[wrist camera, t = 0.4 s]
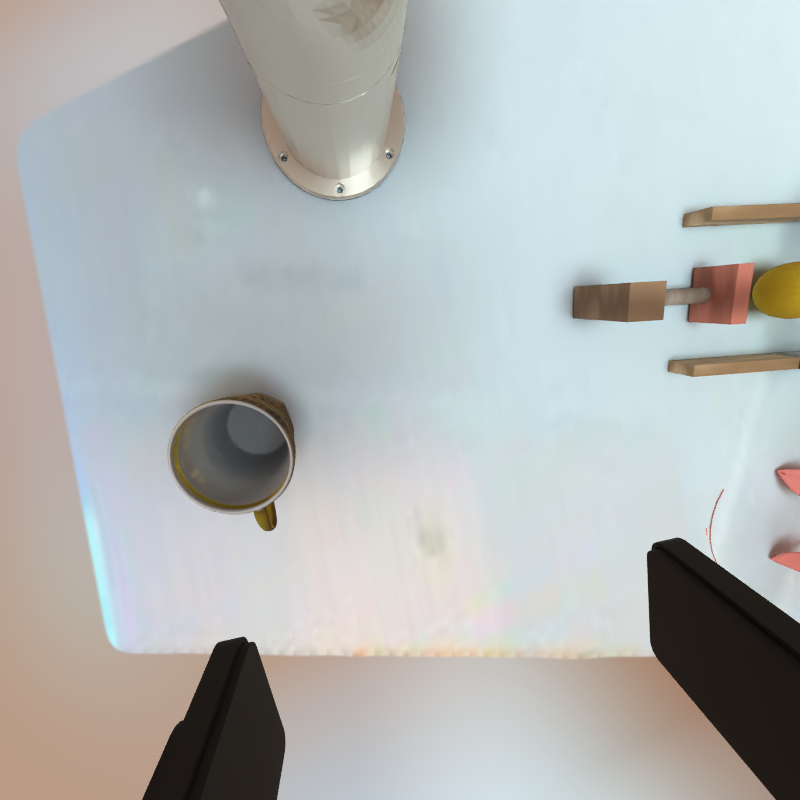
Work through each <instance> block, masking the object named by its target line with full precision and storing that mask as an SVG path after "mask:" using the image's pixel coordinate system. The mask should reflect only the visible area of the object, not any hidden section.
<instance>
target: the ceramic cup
mask: <svg viewBox="0 0 800 800" xmlns="http://www.w3.org/2000/svg"><path fill="white" fill-rule="evenodd" d="M168 463H169V468H170V471H171V474H172V476H173V478H174V480H175V482H176V484H177V485H178V486H179V488H180V489H181V490H182V491H183V492H184V494H185V495H186V496H188V497H189V498H190V499H191V500H192V501H194V502H195V503H197V504H198V505H200V506H202V507H204V508H206V509H209V510H211V511H214V512H219V513H224V514H244V513H250V512H254V515H255V518H256V521H257V522H258V524H259V526H260V527H261V528H262V529H263V530H265V531H271V530H273V529H275V527H276V524H277V517H276V510H275V505H274V501H275V500H276V499H277V498H278V497H279V496H280V495H281V494H282V493H283V492H284V490H285V489H286V488H287V486H288V484H289V482H290V480H291V477H292V474H293V470H294V465H295V442H294V429H293V424H292V422H291V419H290V417H289V414H288V412H287V409H286V407H285V404H284V403H282V402H280V401H278V400H275V399H273V398H271V397H269V396H267V395H265V394H262V393H255V394H251V395H246V396H233V397H227V398H222V399H218V400H214V401H211V402H207V403H204V404H202V405H199V406H197V407H196V408H194V409H192V410H191V411H189V412H188V413H187V414H186V415H185V416H184V417H183V418H182V419H181V420H180V421H179V422H178V424H177V425H176V427H175V428H174V430H173V432H172V434H171V437H170V440H169V445H168ZM267 506H268V507H267Z"/></svg>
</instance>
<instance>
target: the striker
mask: <svg viewBox="0 0 800 800" xmlns="http://www.w3.org/2000/svg"><path fill="white" fill-rule="evenodd" d="M753 270H754V263H745V264H732V265H722V266H712V267H703V268H695V269H694V278H693V287H692V288H684V289H667V290H666V284H667V281H654V282H636V283H621V284H607V285H593V286H579V287H575V293H574V316H573V318H579V319H593V320H606V321H620V322H636V321H652V320H663V316H664V306H666V305H682V304H691V305H690V314H689V322H699V323H716V324H744V323H746V319H747V312H748V305H749V298H750V291H751V284H752V277H753Z"/></svg>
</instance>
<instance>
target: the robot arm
mask: <svg viewBox="0 0 800 800" xmlns="http://www.w3.org/2000/svg"><path fill="white" fill-rule="evenodd" d="M219 1H220V3H221V5H222V7H223V9H224V11H225V13H226V15H227V17H228V19H229V21H230V24H231V26H232V28H233V30H234V32H235V34H236V37H237V39H238V41H239V43H240V45H241V47H242V49H243V52H244V54H245V56H246V59H247V61H248V63H249V65H250V67H251V69H252V71H253V74H254V76H255V78H256V80H257V82H258V84H259V86H260V89H261V91H262V93H263V96H262V103H261V122H262V127H263V132H264V137H265V140H266V142H267V145H268V147H269V150H270V152H271V154H272V156H273V158H274V160H275V161H276V163H277V164H278V166H279V167H280V168H281V170H282V171H283V173H284V174H285V175H286V176H287V177H288V178H289V179H290V180H291V181H292V182H293V183H294V184H296V185H297V186H299V187H300V188H301V189H303V190H304V191H306V192H308V193H310V194H313V195H315V196H317V197H321V198H325V199H330V200H347V199H352V198H357V197H359V196H362V195H364V194H366V193H369V192H370V191H371V190H373V189H374V188H376V187H377V186H379V185H380V184H381V183H382V182H383V180H384V179H385V178H386V177H387V176H388V175H389V173H390V172H391V170H392V169H393V167H394V166H395V164H396V161H397V159H398V156H399V154H400V151H401V147H402V143H403V138H404V130H405V119H404V109H403V104H402V99H401V96H400V93H399V91H398V88H397V86H396V83H395V82H396V76H397V70H398V64H399V59H400V53H401V47H402V41H403V35H404V29H405V21H406V14H407V6H408V0H219ZM387 154H390V155H391V156H392V158H391V159H388V158H387V156H386V155H387ZM283 157H287V161H285V162H283V161H282V158H283ZM339 188H342V189H343V192H342V193H338V191H337V190H338V189H339ZM647 570H648V596H649V622H650V642H651V647H652V649H653V652H654V654H655V655H656V657H657V658H658V660H659V661H660V662H661V664H662V665H663V666H664V667H665V668H666V669H667V671H668V672H669V673H670V674H671V675H672V677H673V678H674V679H675V680H676V681H677V683H678V684H679V685H680V686H681V687H682V688H683V690H684V691H685V692H686V693H687V694H688V696H689V697H690V698H691V699H692V700H693V702H695V704H696V705H697V706H698V708H699V709H700V710H701V711H702V712H703V713H704V715H705V716H706V717H707V718H708V719H709V721H710V722H711V723H712V724H713V725H714V727H715V728H716V729H717V730H718V731H719V732H720V734H721V735H722V736H723V737H724V738H725V740H726V741H727V742H728V743H729V744H730V745H731V746H732V748H733V749H734V750H735V751H736V753H737V754H738V755H739V756H740V757H741V759H742V760H743V761H744V762H745V763H746V764H747V766H748V767H749V768H750V769H751V770H752V772H753V773H754V774H755V775H756V776H757V778H758V779H759V780H760V781H761V782H762V784H763V785H764V786H765V787H766V788H767V789H768V791H769V792H770V793H771V794H772V795H773V797H774V798H775V799H776V800H800V623H798V622H797V621H795V620H794V619H793V618H791V617H790V616H789V615H787V614H786V613H784V612H783V611H782V610H780V609H779V608H778V607H776V606H775V605H773V604H772V603H771V602H769V601H768V600H767V599H765V598H764V597H762V596H761V595H760V594H758V593H757V592H755V591H754V590H753V589H751V588H750V587H749V586H747V585H746V584H744V583H743V582H742V581H740V580H739V579H738V578H736V577H735V576H733V575H732V574H731V573H729V572H728V571H727V570H725V569H724V568H722V567H721V566H720V565H718V564H717V563H715V562H714V561H713V560H711V559H710V558H709V557H707V556H706V555H704V554H703V553H702V552H700V551H699V550H698V549H696V548H695V547H693V546H692V545H691V544H689V543H688V542H687V541H685V540H683V539H681V538H673V539H669V540H665V541H660V542H656V543H654V544H653V545H652V550H651V551H648V553H647ZM284 753H285V732H284V728H283V725H282V722H281V719H280V716H279V713H278V710H277V707H276V704H275V701H274V698H273V695H272V692H271V689H270V686H269V683H268V680H267V677H266V674H265V671H264V667H263V664H262V662H261V658H260V655H259V652H258V649H257V646H256V644H255V643H254V642H249V643H248V641H247V639H246V638H245V637H239V638H235V639H231V640H226V641H222V642H218V643H217V644H216V646H215V647H214V649H213V652H212V654H211V657H210V659H209V661H208V664H207V666H206V668H205V671H204V673H203V676H202V678H201V681H200V683H199V685H198V687H197V690H196V692H195V694H194V697H193V699H192V702H191V704H190V707H189V709H188V711H187V713H186V716H185V718H184V720H183V721H180V722H179V723H178V724H177V725H176V726H175V728H174V730H173V731H172V733H171V735H170V737H169V740H168V742H167V744H166V746H165V749H164V751H163V753H162V755H161V758H160V760H159V762H158V765H157V767H156V769H155V771H154V774H153V776H152V778H151V781H150V783H149V785H148V788H147V790H146V792H145V794H144V797H143V799H142V800H277V795H278V789H279V783H280V777H281V771H282V765H283V759H284Z"/></svg>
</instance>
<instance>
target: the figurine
mask: <svg viewBox="0 0 800 800" xmlns="http://www.w3.org/2000/svg"><path fill="white" fill-rule="evenodd" d="M777 472H778V474H779V475H780V477H781V478H782V479H783V481H784V482H785V483H786V484H787V485H788V486H789V488H790V489H791V490H792V491H793V492H795V493H796V494H798V495H799V496H800V470H787V469H783V470H777ZM723 491H724V489H723V490H722V492H721V494H720V496H719V498H718V500H717V502H716V505H717V503H718V501H719V499H720V497H721V495H722V493H723ZM716 505H715V508H716ZM715 508H714V511H715ZM714 511H713V514H714ZM713 514H712V518H711V524H712V519H713ZM711 524H710V545H711ZM706 536H707V528H706ZM711 551H712V546H711ZM712 554H713V552H712ZM713 556H714V554H713ZM714 559H715V557H714ZM771 560H773V561H775V562H777V563H779V564H782V565H784V566H786V567H789V568H791V569H794V570H796V571H799V572H800V552H786V553H782V554H779V555H775V556H773V557H771ZM715 562H716V560H715ZM716 563H717V562H716Z"/></svg>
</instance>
